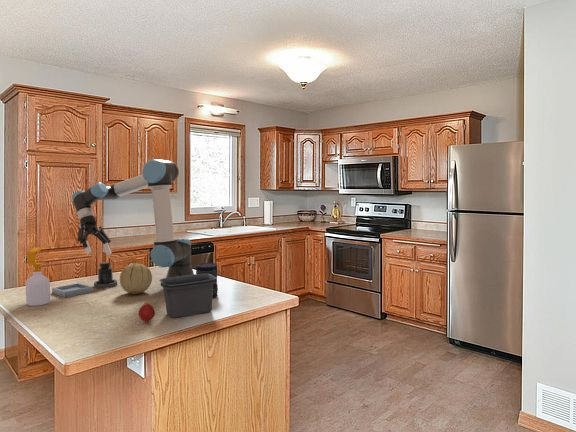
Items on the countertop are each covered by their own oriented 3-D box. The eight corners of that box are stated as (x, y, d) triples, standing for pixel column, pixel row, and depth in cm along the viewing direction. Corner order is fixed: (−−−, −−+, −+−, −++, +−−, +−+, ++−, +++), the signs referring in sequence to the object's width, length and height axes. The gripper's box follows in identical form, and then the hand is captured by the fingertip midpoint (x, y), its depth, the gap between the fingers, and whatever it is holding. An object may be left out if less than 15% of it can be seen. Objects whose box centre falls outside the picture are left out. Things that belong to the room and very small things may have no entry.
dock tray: (92, 291, 205) (92, 286, 205) (64, 297, 195) (64, 292, 195) (79, 287, 213) (79, 282, 213) (52, 293, 203) (51, 287, 203)
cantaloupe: (126, 299, 192) (125, 266, 191) (115, 292, 203) (114, 262, 202) (157, 293, 202) (156, 262, 200) (145, 288, 213) (145, 258, 212)
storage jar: (222, 295, 200) (221, 263, 198) (209, 300, 191) (209, 267, 189) (204, 292, 204) (204, 262, 203) (191, 297, 195) (191, 265, 194)
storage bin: (166, 321, 161) (166, 285, 160) (157, 311, 175) (156, 277, 173) (219, 313, 172) (219, 278, 171) (206, 303, 185) (206, 271, 184)
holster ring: (121, 285, 218) (121, 281, 218) (101, 289, 210) (101, 285, 210) (110, 282, 225) (109, 278, 225) (89, 286, 216) (89, 282, 216)
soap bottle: (55, 301, 188) (52, 247, 186) (37, 307, 180) (34, 250, 178) (40, 299, 191) (37, 246, 189) (21, 305, 183) (18, 249, 181)
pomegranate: (141, 320, 163) (140, 299, 162) (156, 319, 163) (155, 299, 163) (137, 325, 157) (136, 304, 156) (152, 324, 158) (152, 303, 157)
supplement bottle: (115, 284, 221) (114, 261, 220) (108, 287, 214) (107, 264, 213) (102, 284, 221) (102, 261, 220) (95, 287, 214) (95, 263, 213)
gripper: (99, 224, 234) (112, 258, 228) (62, 218, 211) (74, 256, 205) (109, 217, 232) (122, 251, 226) (72, 211, 209) (85, 248, 203)
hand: (99, 254), depth 216 cm, fingers open, 13 cm apart
